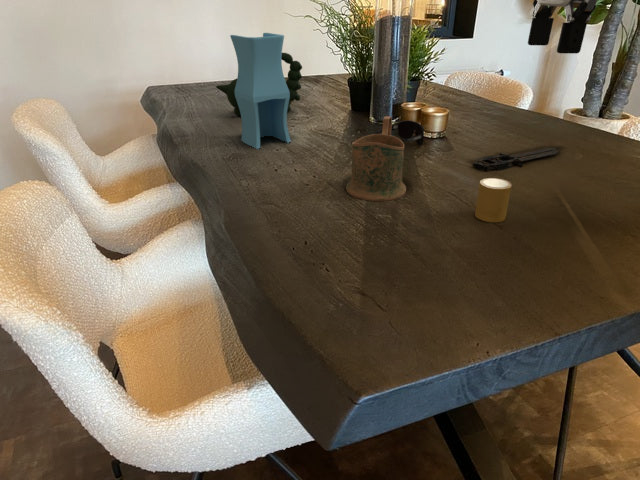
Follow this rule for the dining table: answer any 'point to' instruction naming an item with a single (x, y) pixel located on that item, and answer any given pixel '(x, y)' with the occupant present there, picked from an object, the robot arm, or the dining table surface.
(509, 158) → the knife
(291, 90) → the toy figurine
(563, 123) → the dining table surface
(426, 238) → the dining table surface
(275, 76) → the teal arched pillar
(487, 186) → the candle holder
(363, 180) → the bronze bell
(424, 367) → the dining table surface
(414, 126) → the sunglasses
